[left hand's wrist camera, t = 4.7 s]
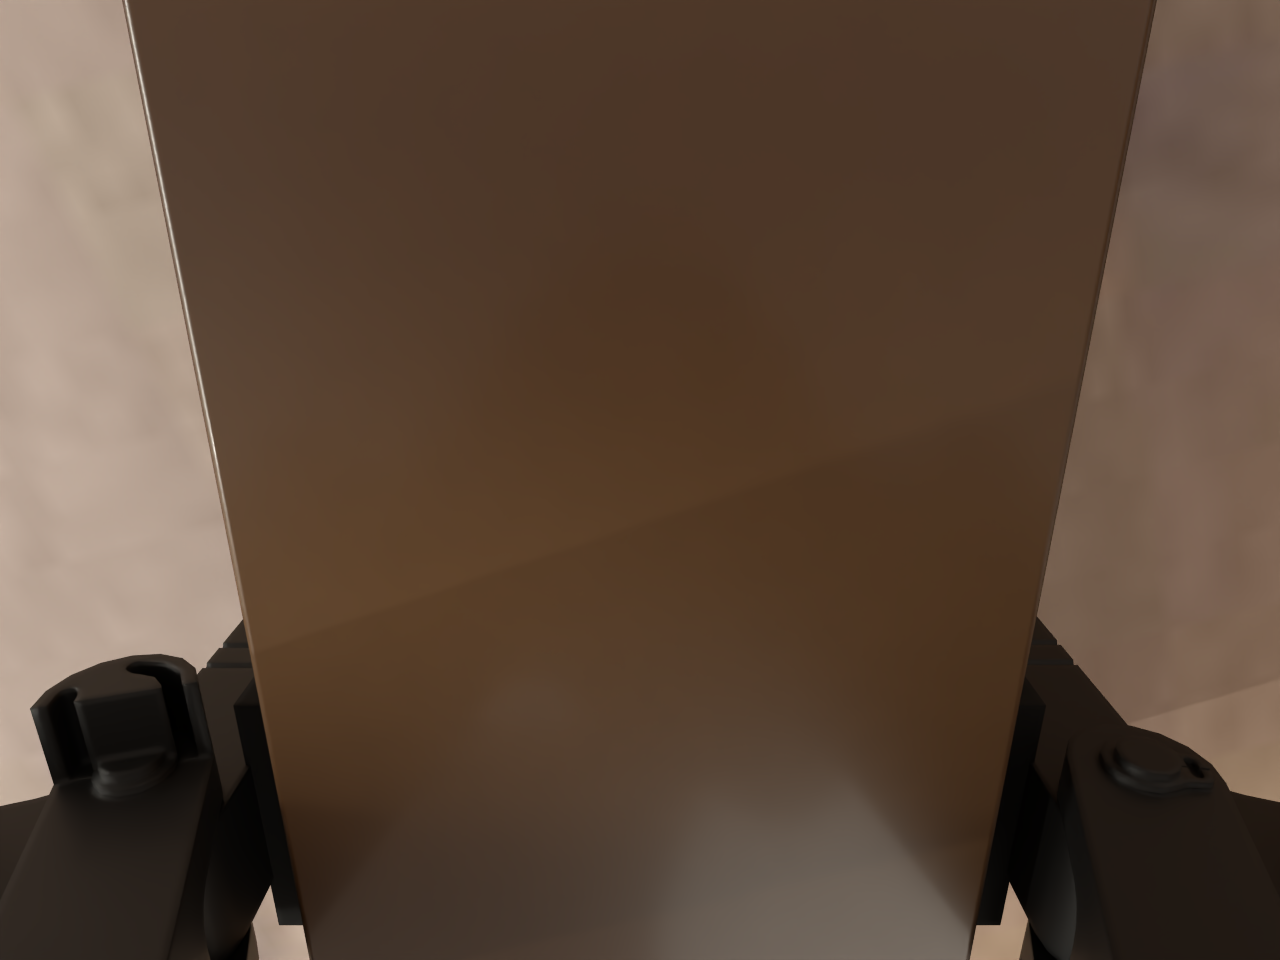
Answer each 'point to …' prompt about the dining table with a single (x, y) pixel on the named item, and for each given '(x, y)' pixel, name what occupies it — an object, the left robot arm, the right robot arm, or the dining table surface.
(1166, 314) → the dining table surface
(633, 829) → the bar
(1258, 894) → the left robot arm
